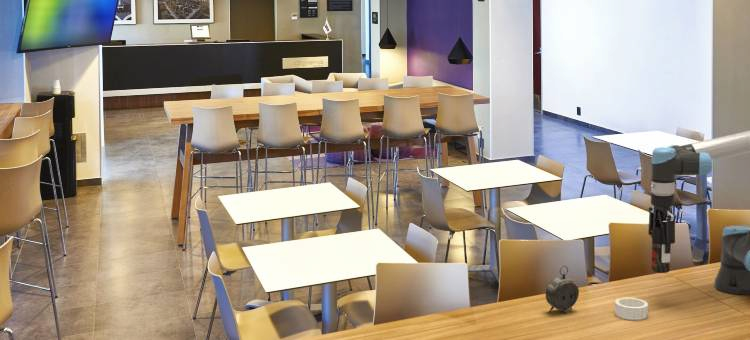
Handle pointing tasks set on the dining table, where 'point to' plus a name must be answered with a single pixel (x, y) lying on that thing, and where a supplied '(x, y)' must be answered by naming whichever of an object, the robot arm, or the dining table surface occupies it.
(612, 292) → the dining table surface
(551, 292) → the alarm clock
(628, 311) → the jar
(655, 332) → the dining table surface
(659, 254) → the deodorant
